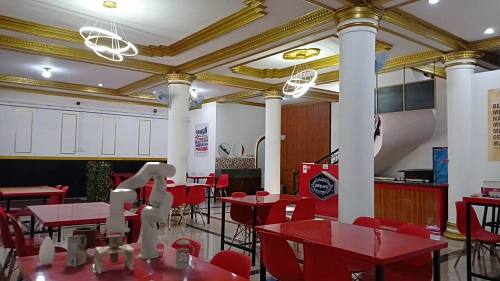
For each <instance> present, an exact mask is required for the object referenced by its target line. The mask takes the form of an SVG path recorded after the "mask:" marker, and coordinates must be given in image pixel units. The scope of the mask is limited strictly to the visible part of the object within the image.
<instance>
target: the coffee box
mask: <svg viewBox="0 0 500 281" xmlns="http://www.w3.org/2000/svg"><path fill="white" fill-rule="evenodd" d="M86 248H87V235H75V236H72V235H71V236H68V237H67V250H66V253H67V254H66V267H78V266H80V265H83V264H86V263H87V258H86V252H87V250H86Z"/></svg>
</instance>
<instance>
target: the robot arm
mask: <svg viewBox="0 0 500 281" xmlns="http://www.w3.org/2000/svg"><path fill="white" fill-rule="evenodd" d="M176 172H177V169H176V167H175V165H174V164H170V163H165V162H158V161H157V162H152V161H151V162H146V163H145V164H144V165H143V166H142V167H141V168H140V169H139V170H138V172H136V174H135V175H134V176H131V177H128V178H127V179H125V180H124V181H122V182H121V183H119V184H118V186H116V188H115V189H114V190H111V191H110V193H109V209H108V210H109V212H108V213H109V214H107V217H106V220H105V226H104V227H102V228H101V229H100V233H101V234H102V236H104V237H105V244H106V245H107V246H108V245H109V236H111V235H110V234H117V233H118V234H120V235H121V236H122V237H123V243H125V237H126V236H127V235H128V233H129V232H130V231H131V228H129V227H128V226H127V225H126V218H125V213H127V210H126V209H124V207H125V206H124V204H125V203H129V204H130V203H131V204H132V203H133V202H135V201H136V199H137V198H138V194H137V192H136V191H135V190H134V189H140V188H141V187H144V186H145V185H147V183H148V182H149V181H150V180H151V179H152V178H153V186H152V189H151V192H150V195H149V197H148V202H149V204H150V205H152V206H144V207H143V208H142V209H141V211H140V219H141V241H140V242H141V243H140V244H141V245H140V253H139V254H138V255H137V257H138V259H140V260H141V259H144V260H152V259H157V258H159V256H160V255H159V254H163V253H165V250H164V249H159V248H157V246H158V245H157V244H158V239H157V238H158V226H157V223H160V224H161V223H165V222H166V221H167V219H168V217H169V216H170V211H171V209H172V205H173V202H174V196H173V194H172V192H169V191H167V187H168V186H167V185H168V184H167V182H166V180H165V178H173V177H175V175H176ZM105 232H106V233H105Z"/></svg>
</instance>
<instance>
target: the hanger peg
mask: <svg viewBox="0 0 500 281" xmlns="http://www.w3.org/2000/svg"><path fill="white" fill-rule="evenodd" d="M123 245H124V242H123V237H122V236H121V234H115V235H109V245H107V246H109V247H111V250H114V249H118V248H119V246H123ZM109 256H110V257H109V262H110V263H111V264H114V263H115V264H116V263H118V262H119V253H110V254H109Z"/></svg>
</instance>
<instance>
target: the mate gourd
mask: <svg viewBox="0 0 500 281" xmlns="http://www.w3.org/2000/svg"><path fill="white" fill-rule="evenodd" d="M98 226H100V223H98V224H95V225H94V226H82V227H74V228H73V231H72V235H71V236H75V235H87V248H86V259H89V258H93V257H95V253H91V252H87V251H88V250H90V249H92V248H93V247H94V246H95V245H96V242H97V228H96V227H98Z"/></svg>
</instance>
